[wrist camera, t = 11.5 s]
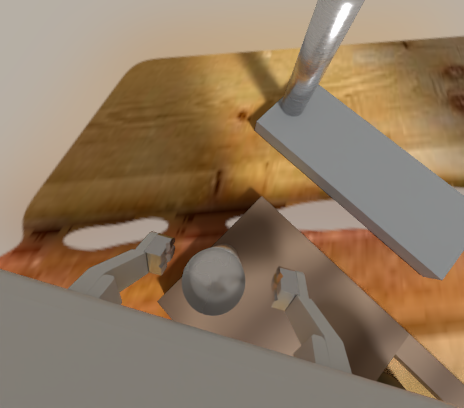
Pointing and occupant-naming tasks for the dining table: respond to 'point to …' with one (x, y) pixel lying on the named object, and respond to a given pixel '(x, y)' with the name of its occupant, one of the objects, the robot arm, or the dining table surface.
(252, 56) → the dining table surface
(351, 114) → the grey base with rod
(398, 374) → the dining table surface
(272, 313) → the brown board with post
